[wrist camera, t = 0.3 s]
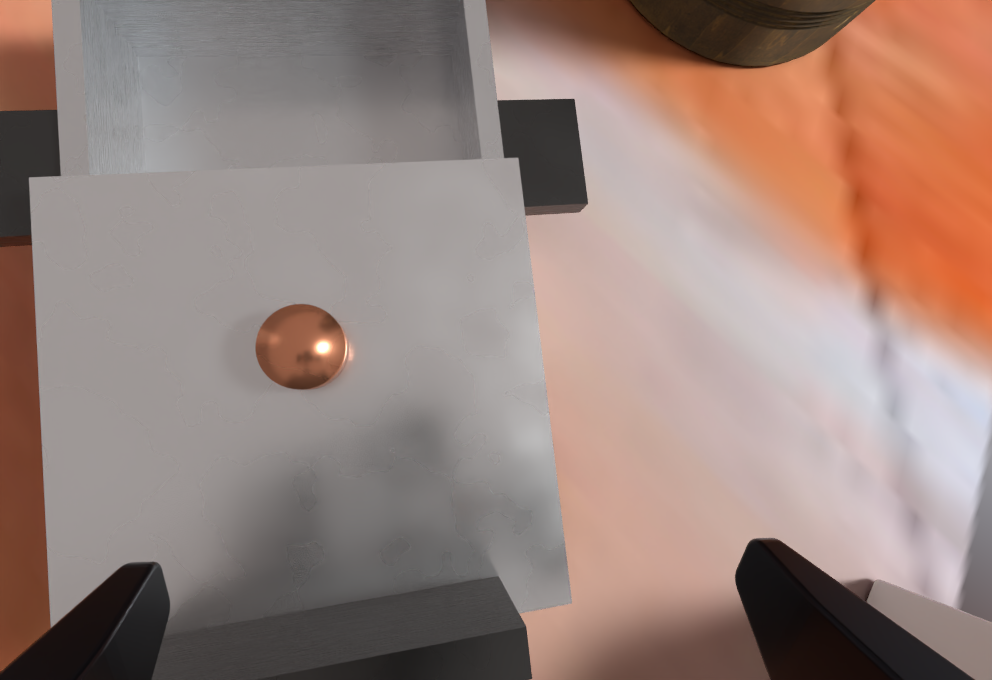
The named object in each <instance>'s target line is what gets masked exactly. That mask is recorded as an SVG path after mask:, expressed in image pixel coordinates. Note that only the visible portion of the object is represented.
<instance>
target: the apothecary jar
mask: <svg viewBox="0 0 992 680" xmlns="http://www.w3.org/2000/svg"><path fill="white" fill-rule="evenodd" d="M630 1H631V2H632V4H633V5H634V6H635V7H636V9H637V10H638V11H639V12H640V13H641V14H642V15H643V16H644V17H645V18H646V19H647V20H648V21H649V22H650V23H651V24H653V25H654V26H655V27H656V28H657V29H659V30H660V31H661V32H662V33H663V34H664V35H666V36H667V37H669V38H671V39H672V40H674V41H675V42H677V43H678V44H680V45H682V46H684V47H685V48H687V49H689V50H691V51H694V52H696V53H698V54H700V55H702V56H704V57H706V58H710V59H713V60H716V61H718V62H723V63H728V64H734V65H742V66H770V65H774V64H778V63H784V62H788V61H790V60H793V59H796V58H799V57H802V56H804V55H806V54H808V53H810V52H812V51H814V50H815V49H817V48H818V47H820V46H821V45H823V44H824V43H825V42H827V41H828V40H829V39H830V38H831V37H833V36H834V35H835V34H836V33H838V32H839V31H840V30H841V29H842V28H844V27H845V26H846V25H847V24H848V23H849V22H851V21H852V20H853V19H854V18H855V17H857V16H858V15H859V14H860V13H861V12H862V11H864V10H865V9H866V8H867V7H868V6H869V5H871V4H872V3H873V2H874V1H875V0H630Z"/></svg>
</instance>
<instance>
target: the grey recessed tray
mask: <svg viewBox="0 0 992 680" xmlns="http://www.w3.org/2000/svg"><path fill="white" fill-rule="evenodd" d="M52 19H53V38H54V56H55V75H56V94H57V110H34V111H0V247H6V246H22V245H32V232H31V211H30V191H29V177H52V176H77V175H102V174H126V173H151V172H176V171H201V170H225V169H250V168H275V167H300V166H324V165H349V164H374V163H398V162H423V161H448V160H473V159H497V158H518V159H519V167H520V176H521V184H522V192H523V201H524V209H525V215H542V214H559V213H576V212H580V211H581V210H582V209H583V208H584V207H585V206H586V205H587V204H588V200H587V192H586V184H585V177H584V169H583V161H582V153H581V146H580V138H579V130H578V123H577V115H576V107H575V100H574V99H546V100H499V101H497V94H496V86H495V77H494V69H493V61H492V52H491V44H490V35H489V27H488V18H487V10H486V1H485V0H52Z"/></svg>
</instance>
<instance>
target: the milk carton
mask: <svg viewBox="0 0 992 680" xmlns="http://www.w3.org/2000/svg"><path fill="white" fill-rule="evenodd" d="M867 603H868V604H870V605H871V606H873V607H874V608H875V609H877V610H878V611H880V612H881V613H882V614H884V615H885V616H887V617H888V618H889V619H891V620H892V621H894V622H895V623H896V624H898V625H899V626H901V627H902V628H903V629H905V630H906V631H908V632H909V633H910V634H912V635H913V636H915V637H916V638H917V639H919V640H920V641H922V642H923V643H925V644H926V645H927V646H929V647H930V648H932V649H933V650H934V651H936V652H937V653H939V654H940V655H941V656H943V657H944V658H946V659H947V660H948V661H950V662H951V663H953V664H954V665H955V666H957V667H958V668H960V669H961V670H962V671H964V672H965V673H967V674H968V675H969V676H971V677H972V678H974V679H975V680H992V623H991V622H989V621H987V620H984V619H981V618H979V617H976V616H974V615H971V614H968V613H965V612H963V611H961V610H958V609H955V608H953V607H950V606H948V605H945V604H942V603H940V602H937V601H935V600H932V599H929V598H927V597H924V596H922V595H919V594H916V593H914V592H911V591H909V590H906V589H903V588H901V587H898V586H896V585H893V584H890V583H888V582H885V581H882V580H876V581H875V582H874V584H873V586H872V589H871V591H870V594H869V597H868V599H867Z"/></svg>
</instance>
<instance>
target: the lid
mask: <svg viewBox="0 0 992 680" xmlns="http://www.w3.org/2000/svg"><path fill="white" fill-rule="evenodd" d="M29 191H30V211H31V232H32V252H33V273H34V293H35V314H36V335H37V355H38V376H39V396H40V417H41V438H42V458H43V479H44V499H45V520H46V540H47V561H48V582H49V602H50V623H51V627H52V626H54V625H55V624H56V623H57V622H58V621H59V620H60V619H61V618H63V617H64V616H65V615H66V614H67V613H68V612H69V611H71V610H72V609H73V608H74V607H75V606H76V605H77V604H79V603H80V602H81V601H82V600H83V599H84V598H85V597H87V596H88V595H89V594H90V593H91V592H92V591H93V590H95V589H96V588H97V587H98V586H99V585H100V584H101V583H103V582H104V581H105V580H106V579H107V578H108V577H109V576H110V575H112V574H113V573H114V572H115V571H116V570H117V569H119V568H120V567H121V566H123V565H125V564H127V563H131V562H157V563H159V564H160V565H161V568H162V571H163V575H164V578H165V582H166V586H167V590H168V594H169V598H170V613H169V618H168V622H167V625H166V629H165V633H164V636H163V640H162V644H161V647H160V651H159V654H158V658H157V662H156V665H155V669H154V673H153V676H152V680H529V679H532V674H531V665H530V656H529V647H528V639H527V630H526V626H525V624H524V622H523V620H522V618H521V616H520V615H519V613H524V612H529V611H534V610H540V609H545V608H550V607H555V606H561V605H566V604H571V603H572V599H571V590H570V582H569V574H568V566H567V557H566V549H565V541H564V532H563V524H562V516H561V508H560V499H559V491H558V483H557V474H556V466H555V458H554V449H553V441H552V433H551V425H550V416H549V408H548V400H547V391H546V383H545V375H544V367H543V358H542V350H541V342H540V333H539V325H538V317H537V308H536V300H535V292H534V284H533V275H532V267H531V259H530V250H529V242H528V234H527V226H526V217H525V209H524V201H523V192H522V184H521V176H520V167H519V159H518V158H497V159H473V160H448V161H423V162H398V163H374V164H349V165H324V166H300V167H275V168H250V169H225V170H201V171H176V172H151V173H126V174H102V175H77V176H52V177H29Z"/></svg>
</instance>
